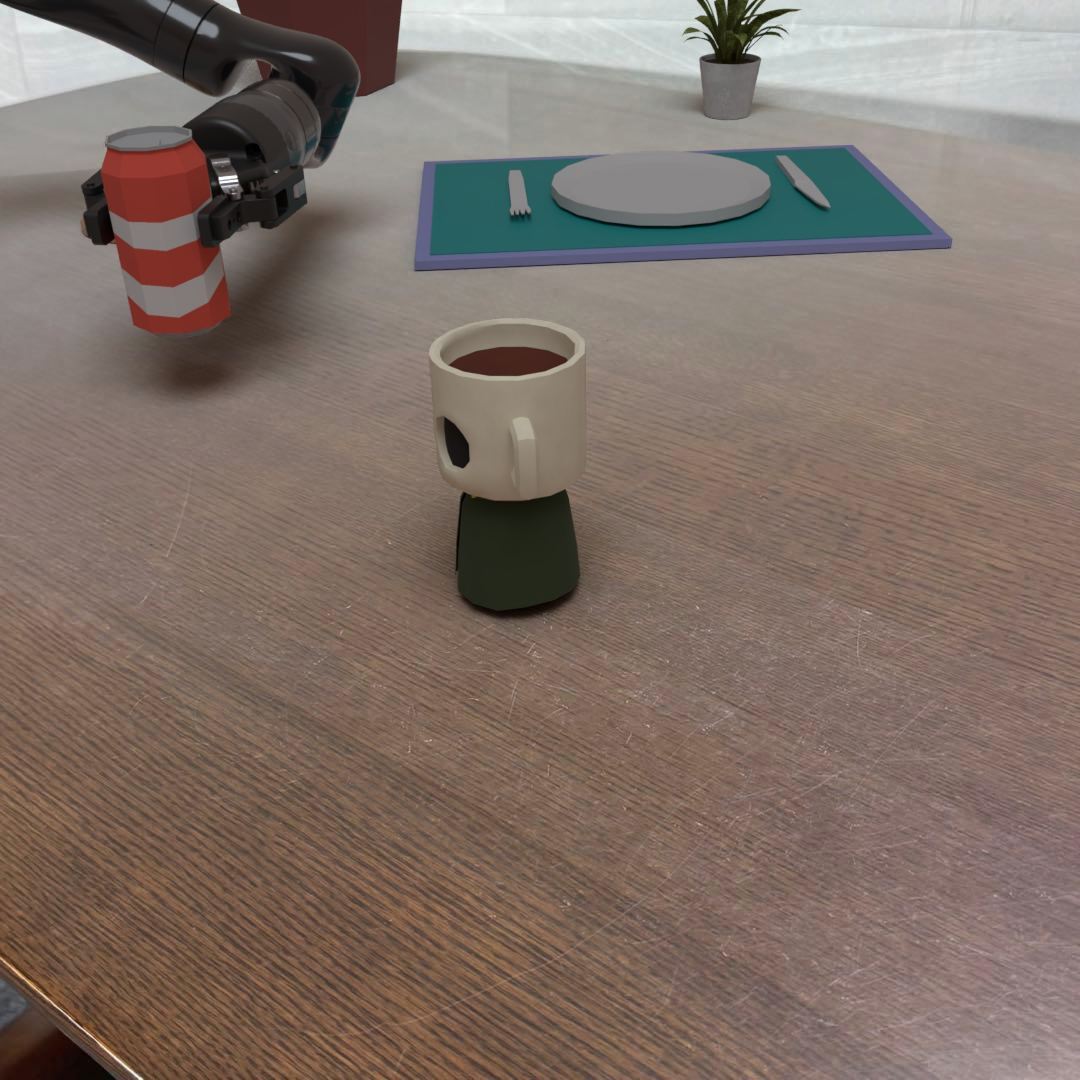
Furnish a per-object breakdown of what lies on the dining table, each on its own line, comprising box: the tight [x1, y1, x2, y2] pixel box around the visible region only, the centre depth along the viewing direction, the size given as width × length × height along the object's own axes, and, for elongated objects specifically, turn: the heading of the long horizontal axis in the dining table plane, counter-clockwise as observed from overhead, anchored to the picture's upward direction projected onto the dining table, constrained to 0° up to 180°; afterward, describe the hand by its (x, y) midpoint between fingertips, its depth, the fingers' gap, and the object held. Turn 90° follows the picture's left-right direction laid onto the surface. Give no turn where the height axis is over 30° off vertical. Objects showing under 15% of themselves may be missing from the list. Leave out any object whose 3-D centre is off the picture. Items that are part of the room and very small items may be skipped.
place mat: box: [413, 144, 953, 271], centre depth 112 cm, size 45×30×2 cm
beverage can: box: [100, 125, 232, 339], centre depth 75 cm, size 6×6×12 cm
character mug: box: [428, 317, 587, 612], centre depth 57 cm, size 11×7×13 cm, turn 9°
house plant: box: [681, 0, 803, 121], centre depth 136 cm, size 14×14×16 cm
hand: (149, 230), depth 73 cm, fingers closed on beverage can, 6 cm apart
